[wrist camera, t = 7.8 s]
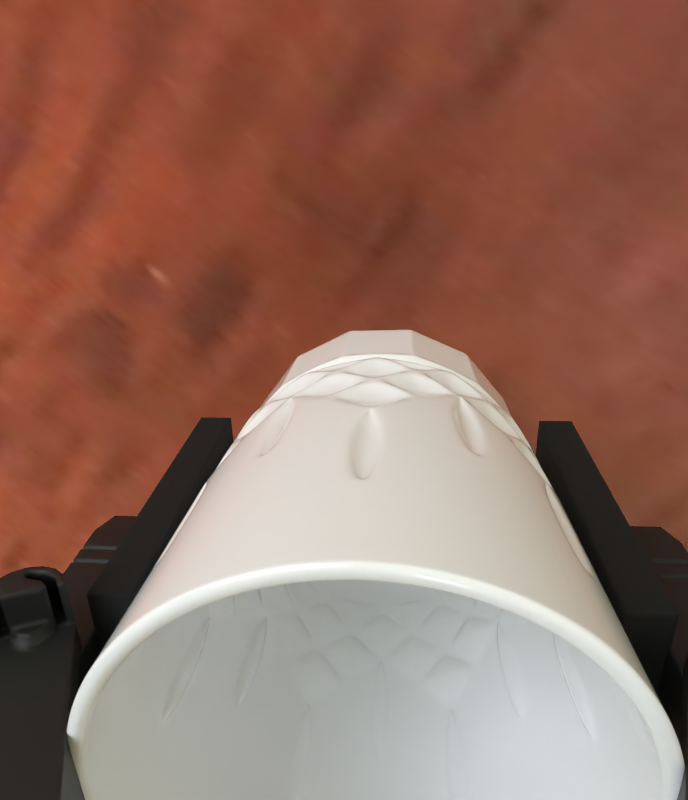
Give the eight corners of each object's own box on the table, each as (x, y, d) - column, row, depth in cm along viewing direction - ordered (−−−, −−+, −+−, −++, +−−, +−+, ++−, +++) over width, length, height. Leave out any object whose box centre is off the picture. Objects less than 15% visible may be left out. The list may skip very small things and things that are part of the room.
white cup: (591, 465, 17) (809, 867, 8) (366, 604, 20) (337, 1030, 11) (404, 236, 15) (412, 427, 6) (180, 425, 18) (-56, 762, 8)
